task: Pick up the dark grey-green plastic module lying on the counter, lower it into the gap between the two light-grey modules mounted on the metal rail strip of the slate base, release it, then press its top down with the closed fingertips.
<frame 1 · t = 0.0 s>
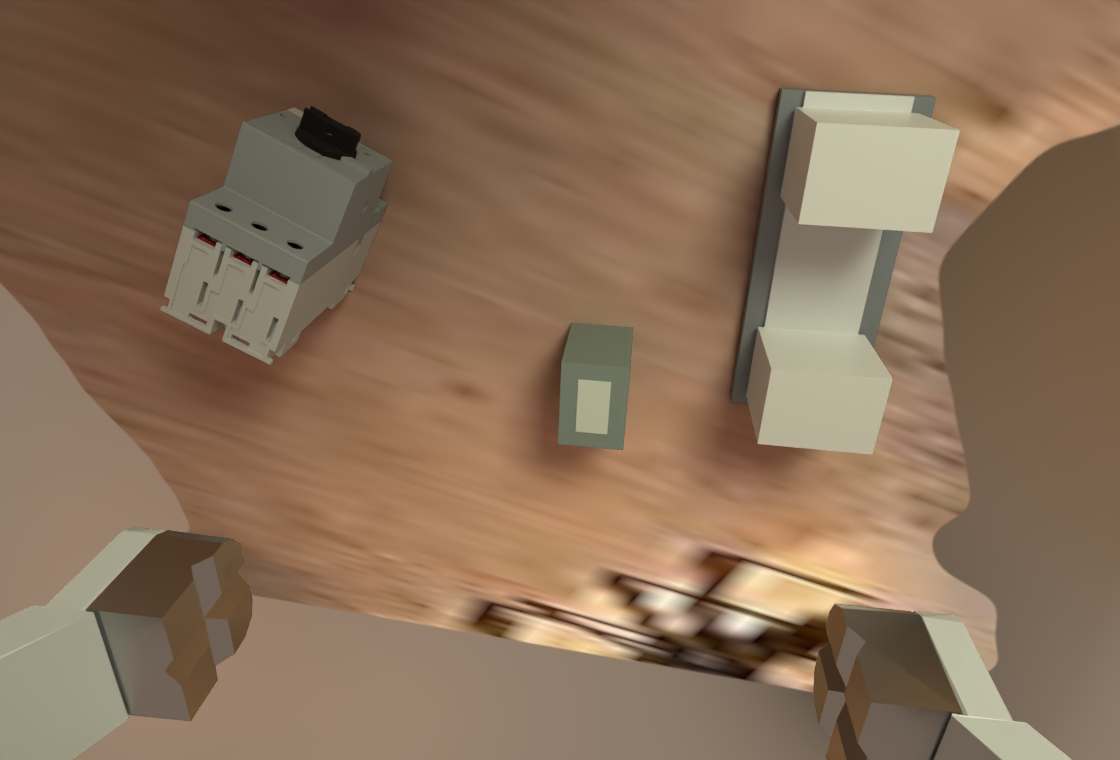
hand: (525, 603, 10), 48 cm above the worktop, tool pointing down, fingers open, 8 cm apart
module: (599, 363, 62), on the worktop
circuit breaker: (341, 190, 58), on the worktop
rail base: (820, 262, 56), on the worktop
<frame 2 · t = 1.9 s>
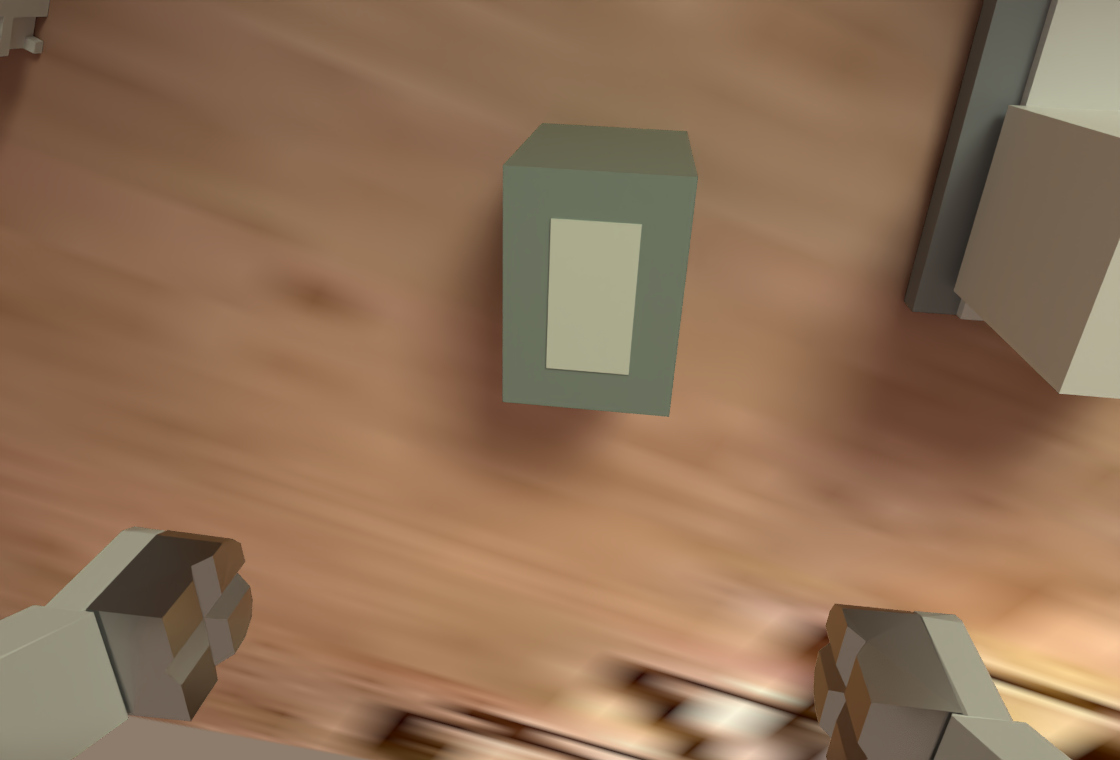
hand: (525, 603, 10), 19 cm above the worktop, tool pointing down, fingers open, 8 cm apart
module: (607, 226, 27), on the worktop
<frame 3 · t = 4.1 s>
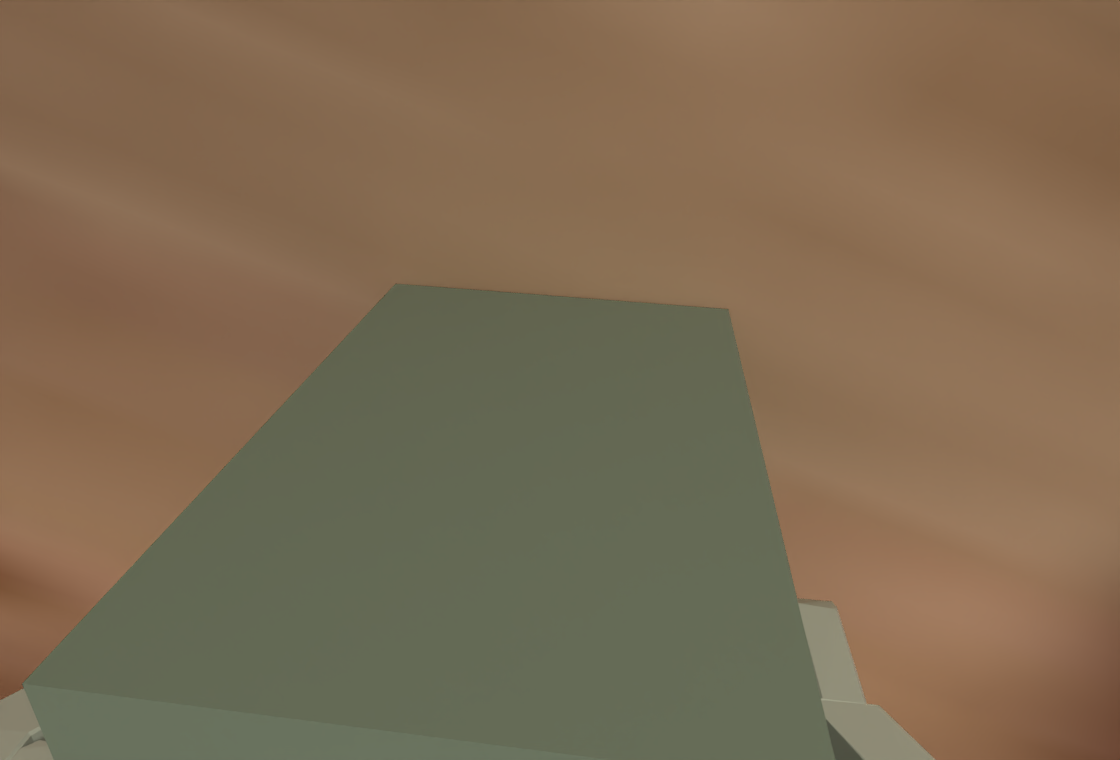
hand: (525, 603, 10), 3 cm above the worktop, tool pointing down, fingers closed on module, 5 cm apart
module: (551, 489, 13), on the worktop, touching gripper
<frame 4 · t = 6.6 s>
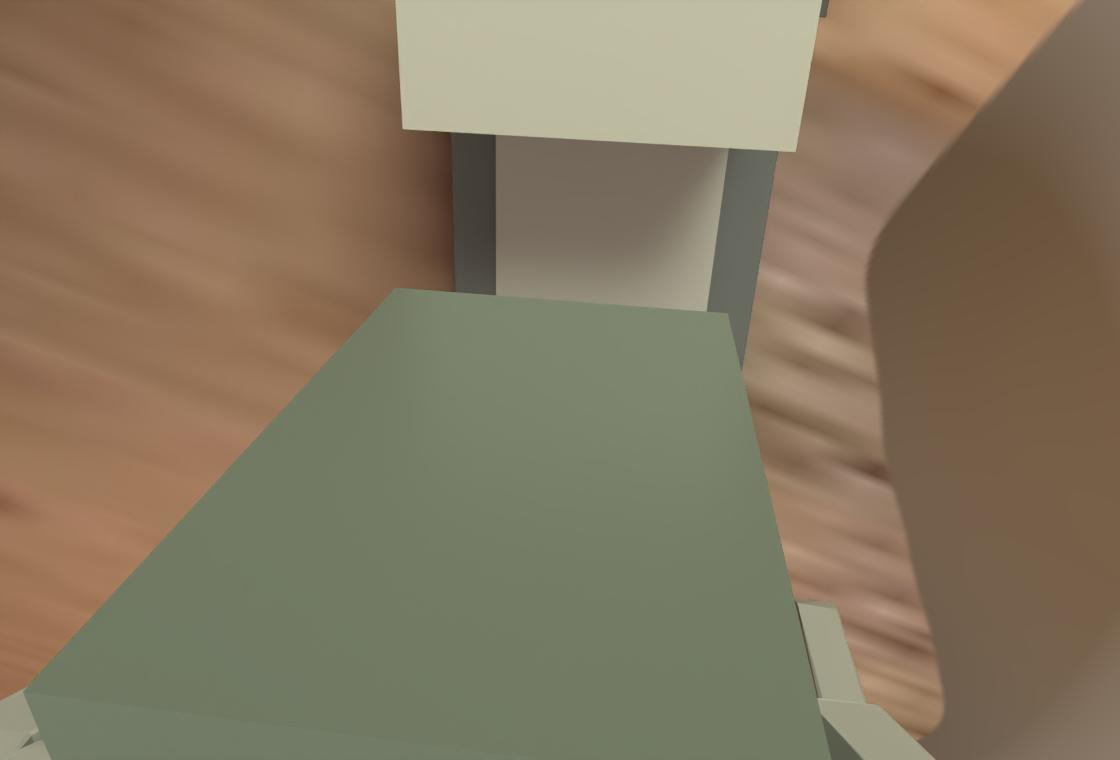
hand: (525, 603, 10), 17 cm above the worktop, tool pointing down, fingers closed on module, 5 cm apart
module: (550, 492, 13), point 14 cm above the worktop, touching gripper
rail base: (605, 251, 25), on the worktop
when the fingers open (5 cm above the worktop, at t = 9.1 s): module drops 1 cm, resting on rail base.
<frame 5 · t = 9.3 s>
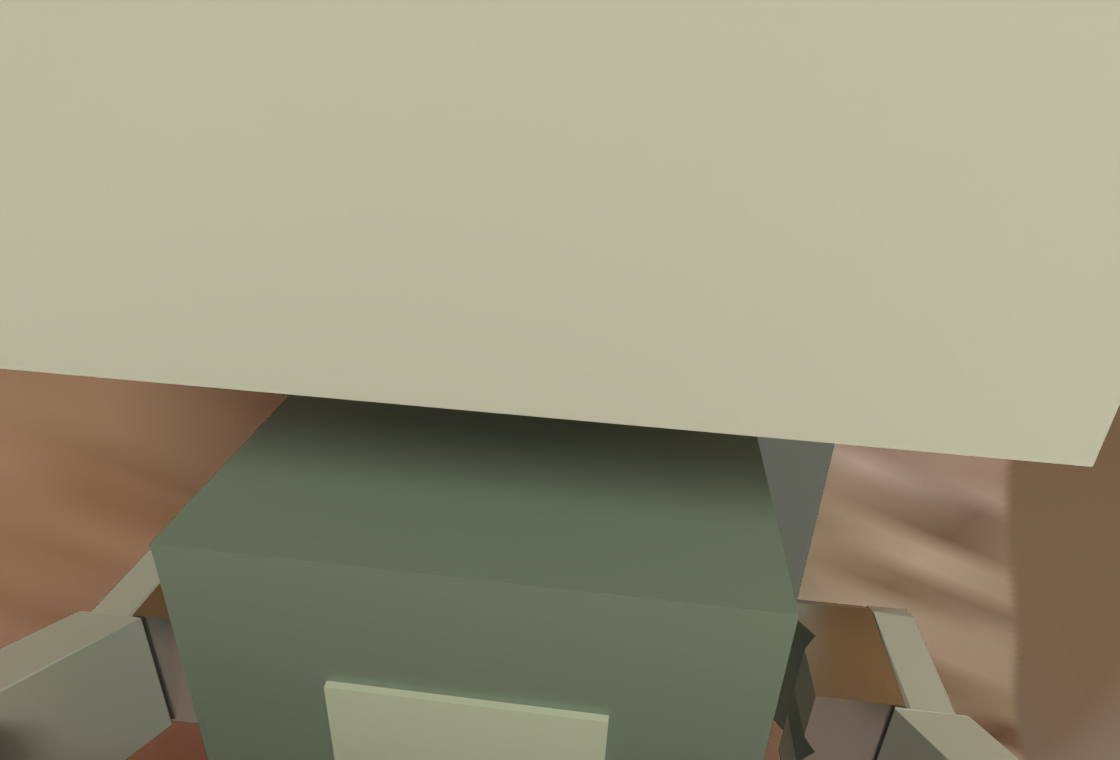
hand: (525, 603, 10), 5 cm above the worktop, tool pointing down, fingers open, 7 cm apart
module: (559, 447, 14), point 1 cm above the worktop, touching rail base
rail base: (568, 413, 15), on the worktop
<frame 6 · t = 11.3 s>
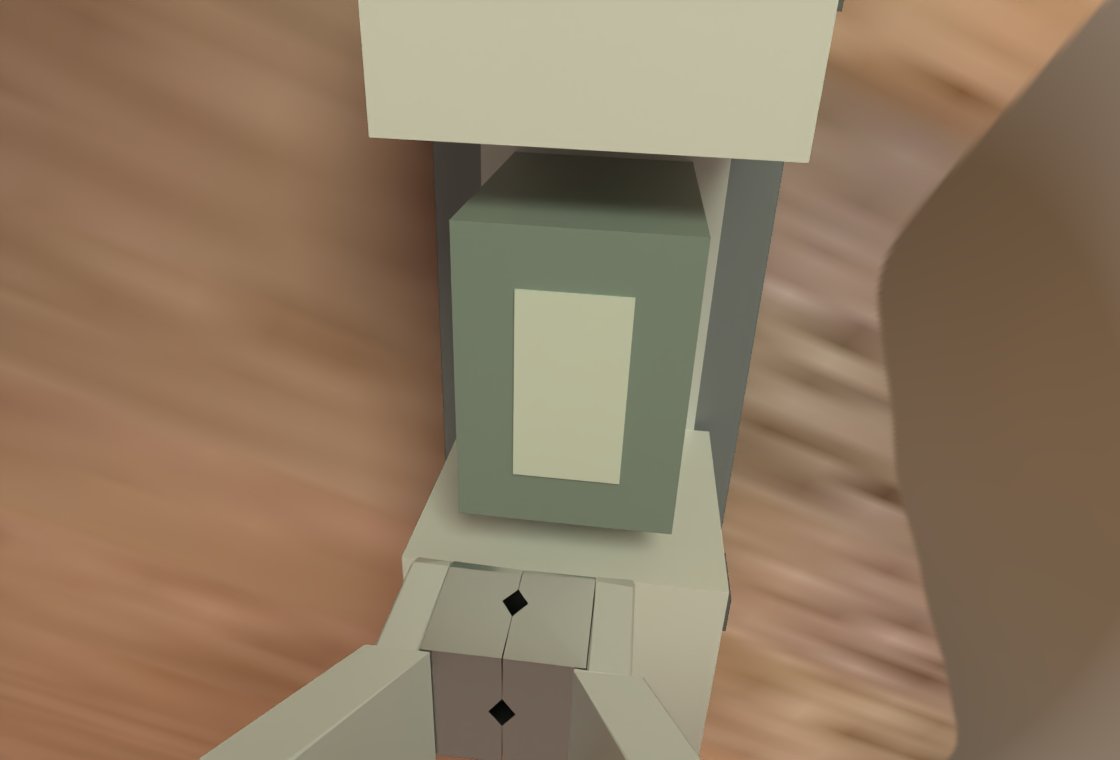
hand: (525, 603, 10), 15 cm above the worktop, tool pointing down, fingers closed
module: (595, 276, 22), point 1 cm above the worktop, touching rail base
rail base: (599, 263, 24), on the worktop
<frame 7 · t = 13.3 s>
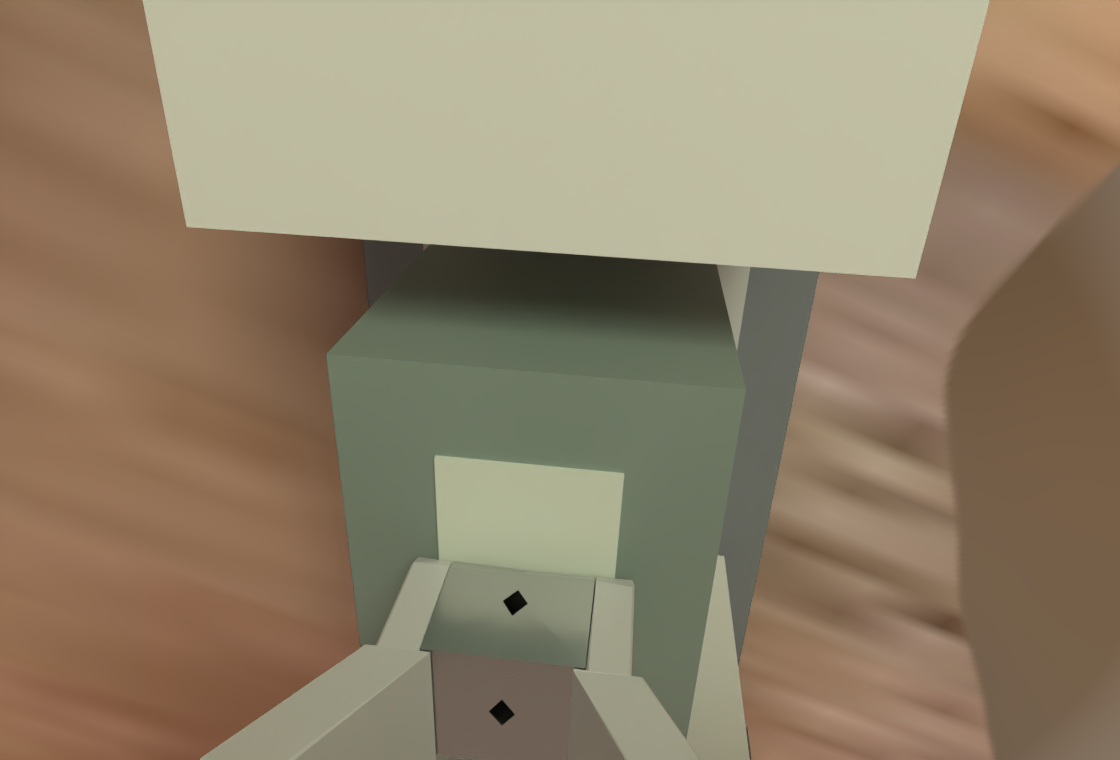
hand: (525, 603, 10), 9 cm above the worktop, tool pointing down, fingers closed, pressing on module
module: (576, 365, 17), point 1 cm above the worktop, touching gripper, rail base
rail base: (583, 342, 18), on the worktop
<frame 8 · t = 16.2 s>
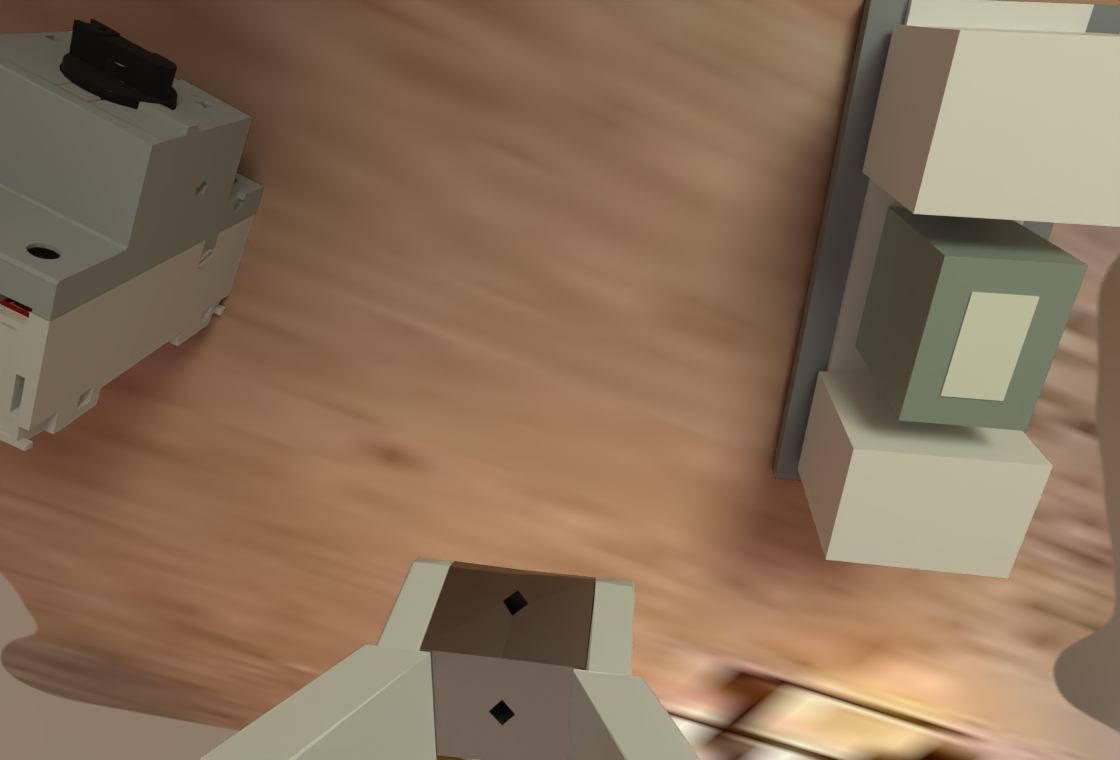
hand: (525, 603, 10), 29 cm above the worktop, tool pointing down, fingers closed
module: (924, 283, 35), point 1 cm above the worktop, touching rail base
circuit breaker: (193, 167, 39), on the worktop
rail base: (916, 274, 37), on the worktop
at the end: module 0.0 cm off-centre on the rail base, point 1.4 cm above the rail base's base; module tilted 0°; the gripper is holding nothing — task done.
